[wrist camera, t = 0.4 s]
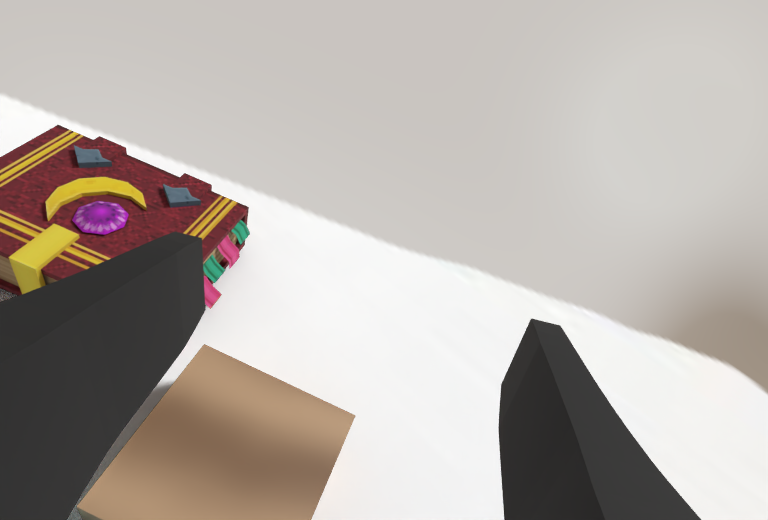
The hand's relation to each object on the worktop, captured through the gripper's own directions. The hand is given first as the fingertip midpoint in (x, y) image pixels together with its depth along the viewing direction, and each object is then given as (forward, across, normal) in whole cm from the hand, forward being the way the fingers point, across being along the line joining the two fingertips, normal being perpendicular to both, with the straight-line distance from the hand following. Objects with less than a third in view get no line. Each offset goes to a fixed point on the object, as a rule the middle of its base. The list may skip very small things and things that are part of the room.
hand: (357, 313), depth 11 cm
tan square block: (+6, +6, +18) cm, 20 cm away
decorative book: (+16, +19, +15) cm, 29 cm away
